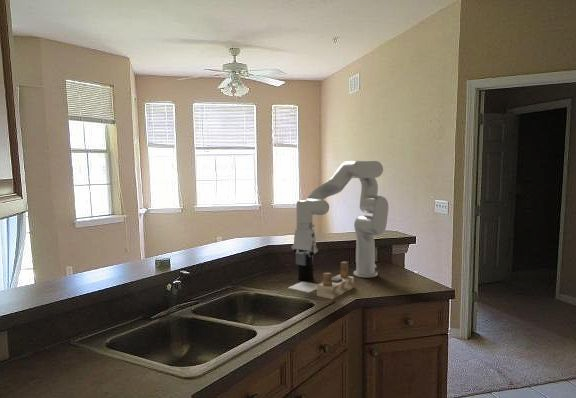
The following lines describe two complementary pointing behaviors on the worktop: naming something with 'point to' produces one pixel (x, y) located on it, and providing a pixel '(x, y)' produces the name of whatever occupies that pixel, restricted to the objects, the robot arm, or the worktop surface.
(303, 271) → the aerosol can
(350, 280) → the cream pegged block
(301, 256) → the lever cap
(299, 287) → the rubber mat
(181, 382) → the worktop surface
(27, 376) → the worktop surface
